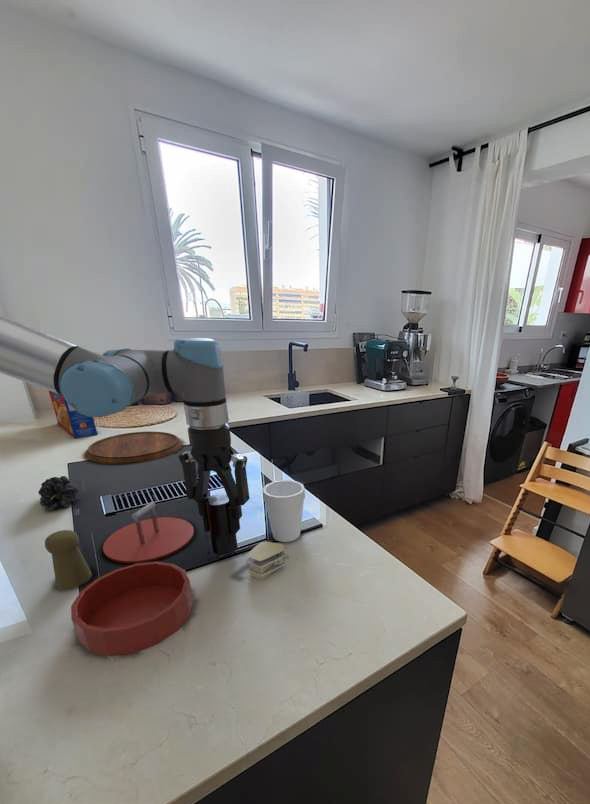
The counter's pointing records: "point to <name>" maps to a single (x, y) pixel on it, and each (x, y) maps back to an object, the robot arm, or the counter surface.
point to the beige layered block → (265, 559)
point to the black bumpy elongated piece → (57, 493)
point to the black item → (220, 524)
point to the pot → (132, 608)
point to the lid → (148, 538)
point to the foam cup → (284, 508)
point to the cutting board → (133, 447)
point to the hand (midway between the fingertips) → (222, 529)
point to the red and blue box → (72, 418)
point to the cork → (67, 559)
